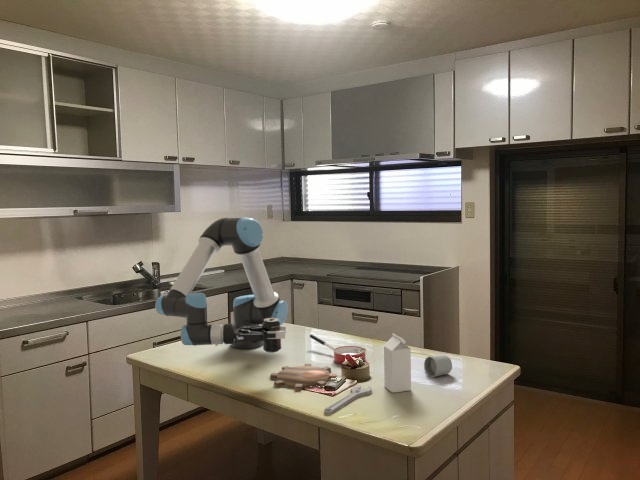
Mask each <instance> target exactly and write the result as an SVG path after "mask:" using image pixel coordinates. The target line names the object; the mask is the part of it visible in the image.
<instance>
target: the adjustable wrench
mask: <svg viewBox="0 0 640 480" xmlns="http://www.w3.org/2000/svg"><path fill="white" fill-rule="evenodd" d="M372 392H373V387H372V386H370V385H368V387H367V388H364V389H363V388H362V386H361V385H355V386H353V387H352V388H351V389H350V393H349V394H348V395H346V396H344V397H342V398H341V399H339V400H338V401H336V402H334V403H332V404H331V405H329V406H328V407H326V408H323V414H325V415H326V414H330V415H332V414H334V413H335V412H337V411H339V410H340V409H342V408H343V407H344V406H346V405H347V404H349V403H351V402H353V401H354V400H355V399H357V398H359V397H360V398H361V397H363V396H368V395H370V394H372ZM333 412H334V413H333Z"/></svg>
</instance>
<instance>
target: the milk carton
mask: <svg viewBox="0 0 640 480" xmlns="http://www.w3.org/2000/svg"><path fill="white" fill-rule="evenodd" d="M391 335H392V336H391V337H390V338H389V340H387V342H385V344H384V345H383V367H384V368H383V375H384V376H383V377H384V380H383V382H384V387H385V388H386V389H387V390H389V391H390V392H391V393H392V394H393V393H394V394H395V393H400V392H407V391H412V369H411V368H412V363H411V362H412V359H411V357H412V355H411V351H412V350H411V349H412V348H411V347H409V346H408V345H406V342H407V341H406V340H405V339H404V338H402V337H400V336H398V335H397V334H394V333H392V334H391Z"/></svg>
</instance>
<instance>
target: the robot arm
mask: <svg viewBox="0 0 640 480" xmlns="http://www.w3.org/2000/svg"><path fill="white" fill-rule="evenodd" d="M262 241H263V229H262V226H261V224H260V222H258V220H257V219H254V218H252V217H250V218H249V217H222V218H218V219H217V220H215V221H214V222H213V223H211V224H210V225H209V226H208V227H207V228H206V229H205V230H204V231H203V232H202V233H201V235H200V236H199V238H198V245H197V246H196V247H195V249H194V250H193V251H192V254H191V256H190V257H189V258H188V260H187V262H186V264H185V265H184V267H183V269H181V272H180V273H179V275H178V276H177V278H176V279H175V281H174V283H172V284H173V285H171V288H170V289H169V291H168V292H167V294H164V295H161V296H158V297H157V299H156V301H155V303H154V304H155V305H154V308H155V311H156V312H157V313H158V314H159V315H161V316H166V317H176V318H177V317H178V318H185V319H186V324H185V325H183V326H182V327H181V330H180V341H181V344H183V346H194V347H195V346H208V345H210V346H211V345H214V346H215V347H217V346H219V345H223V344H224V345H230V347H231V348H233V349H238V350H249V349H255V348H260V347H263V341H265V342H266V341H267V339H281V340H283V339H286V333H287V330H286V329H287V327H286V325H284V323H285V321H286V320H287V316H288V313H289V307H288V306H289V305H288V303H287V302H286V301H285V300H283V299H282V300H280V299H281V298H280V297H279V294H278V293H277V292H276V291H274V289H273V286H272V284H271V281H270V278H269V274H268V272H267V269H266V267H265V264H264V263H265V262H264V261H263V256H262V254H261V252H260V249H259V248H260V247H261V244H262ZM224 246H231V247H232V249H233V252H234V254H235V255H238V256H239V258H240V260H241V261H240V262H241V263H242V266H243V268H244V271H245V273H246V277H247V279H248V282H249V285H250V288H251V291H252V294H247V295H246V294H245V295H240V296H238V297H235V298H233V301H232V302H233V303H232V305H233V306H232V310H233V314H232V315H233V323H225V324H224V323H215V324H214V323H212V324H208V302H207V295H206V294H205V293H204V292H193V290H194V288H195V287H196V285H197V284H198V281H199V280H200V278H201V277H202V275H203V273H204V272H205V270H206V268H207V267H208V265H209V263H210V262H211V260H212V258H214V257H213V256H214V255H215V254H216V253H219V252H220V250H221V248H222V247H224ZM266 318H278V319H279V320H278V321H279V322H280V324H281V331H267V332H262V323H263V322H264V319H266Z"/></svg>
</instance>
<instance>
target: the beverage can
mask: <svg viewBox="0 0 640 480" xmlns="http://www.w3.org/2000/svg"><path fill="white" fill-rule="evenodd" d="M278 320H279V319H278V318H266V319H264V322H263V323H262V332H267V331H281V326H282V325H281V324H280V322H279V321H278ZM262 349H263V351H265V352H266V353H269V354H271V353H277V352H279V351H280V350H281V349H282V339H267V341H266V342H265V341H263V345H262Z"/></svg>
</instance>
